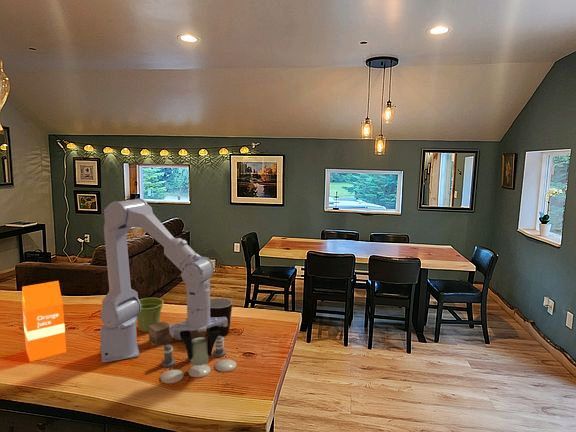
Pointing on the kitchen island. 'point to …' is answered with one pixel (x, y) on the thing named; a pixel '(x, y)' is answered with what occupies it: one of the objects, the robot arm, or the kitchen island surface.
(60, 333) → the orange juice
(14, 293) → the kitchen island surface
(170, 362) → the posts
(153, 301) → the plant pot
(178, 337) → the grey ball
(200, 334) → the walnut block
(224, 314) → the coffee mug
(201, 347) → the pale green rounded cylinder
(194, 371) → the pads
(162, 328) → the walnut block
